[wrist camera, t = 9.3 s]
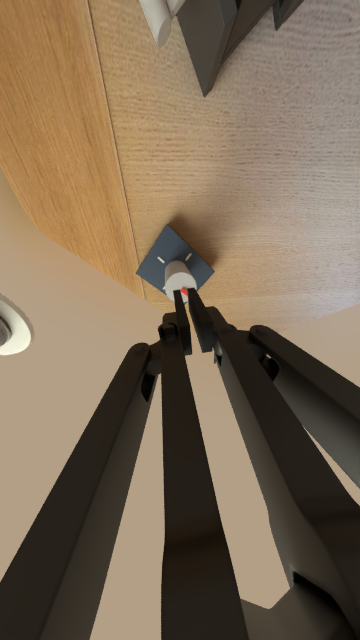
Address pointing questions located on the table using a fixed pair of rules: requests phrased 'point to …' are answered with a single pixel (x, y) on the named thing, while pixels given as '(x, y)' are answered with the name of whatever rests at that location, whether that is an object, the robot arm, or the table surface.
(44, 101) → the table surface
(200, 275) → the timer panel
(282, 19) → the drawer cabinet
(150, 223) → the table surface
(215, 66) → the open drawer with handle
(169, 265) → the timer knob
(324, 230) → the table surface
